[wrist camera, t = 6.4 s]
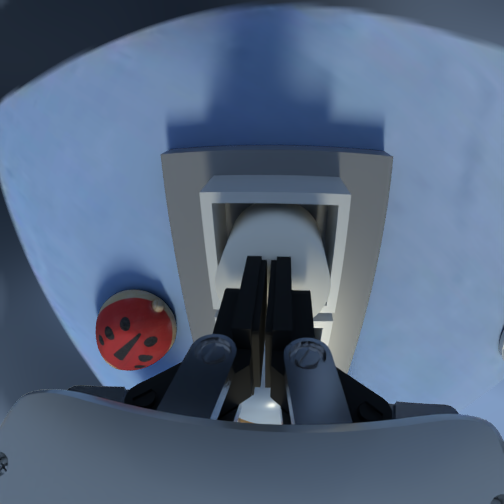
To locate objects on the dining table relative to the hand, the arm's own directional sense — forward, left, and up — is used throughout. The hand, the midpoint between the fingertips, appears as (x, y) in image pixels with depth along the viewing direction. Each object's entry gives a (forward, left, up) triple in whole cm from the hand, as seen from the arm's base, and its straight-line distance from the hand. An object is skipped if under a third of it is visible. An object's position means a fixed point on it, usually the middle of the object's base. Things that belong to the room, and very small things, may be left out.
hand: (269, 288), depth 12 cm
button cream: (0, 0, -4) cm, 4 cm away
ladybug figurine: (+11, +10, -7) cm, 17 cm away
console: (0, +7, -7) cm, 10 cm away
